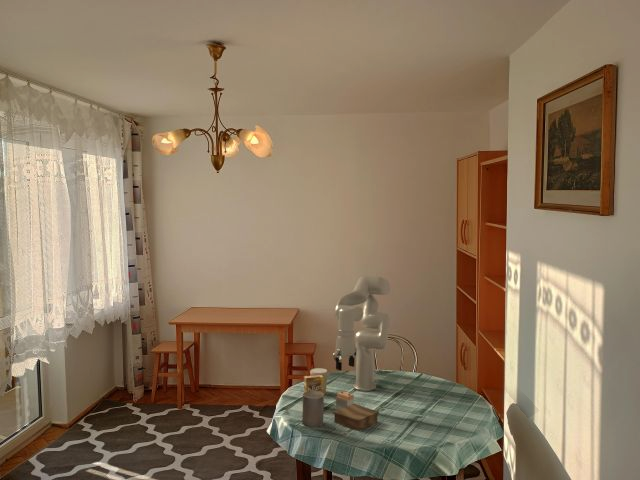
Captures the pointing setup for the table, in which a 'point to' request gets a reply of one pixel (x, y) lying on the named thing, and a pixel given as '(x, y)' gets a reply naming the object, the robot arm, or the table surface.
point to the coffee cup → (324, 373)
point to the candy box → (313, 383)
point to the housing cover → (345, 396)
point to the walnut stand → (355, 416)
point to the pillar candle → (313, 409)
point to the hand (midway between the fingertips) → (345, 368)
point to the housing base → (343, 402)
